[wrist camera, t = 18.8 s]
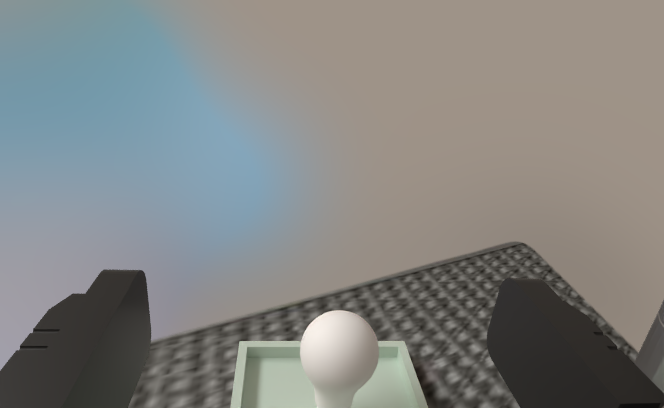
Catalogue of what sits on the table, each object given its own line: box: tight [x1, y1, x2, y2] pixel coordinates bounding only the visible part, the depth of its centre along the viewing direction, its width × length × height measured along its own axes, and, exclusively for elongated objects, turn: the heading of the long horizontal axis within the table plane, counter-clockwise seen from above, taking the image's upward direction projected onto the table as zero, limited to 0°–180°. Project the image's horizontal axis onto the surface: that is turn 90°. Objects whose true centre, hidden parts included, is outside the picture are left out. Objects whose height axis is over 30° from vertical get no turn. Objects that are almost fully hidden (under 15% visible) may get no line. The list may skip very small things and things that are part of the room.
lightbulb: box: [300, 310, 379, 408], centre depth 35 cm, size 6×6×11 cm
